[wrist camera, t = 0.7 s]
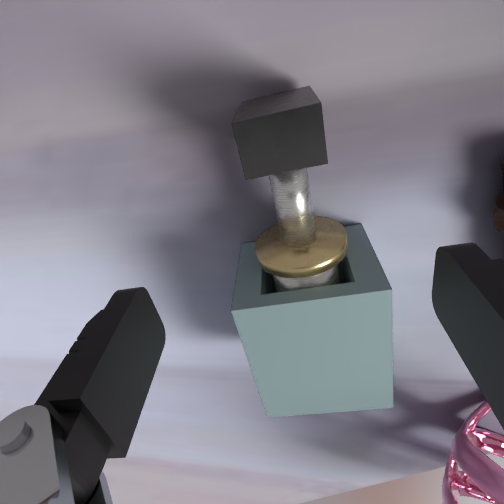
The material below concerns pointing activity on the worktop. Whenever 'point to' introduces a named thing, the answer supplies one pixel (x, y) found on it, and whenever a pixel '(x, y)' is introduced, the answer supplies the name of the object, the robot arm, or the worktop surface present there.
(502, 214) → the bolt
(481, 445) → the spiral basket
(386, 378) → the housing
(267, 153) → the plunger
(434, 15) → the worktop surface
